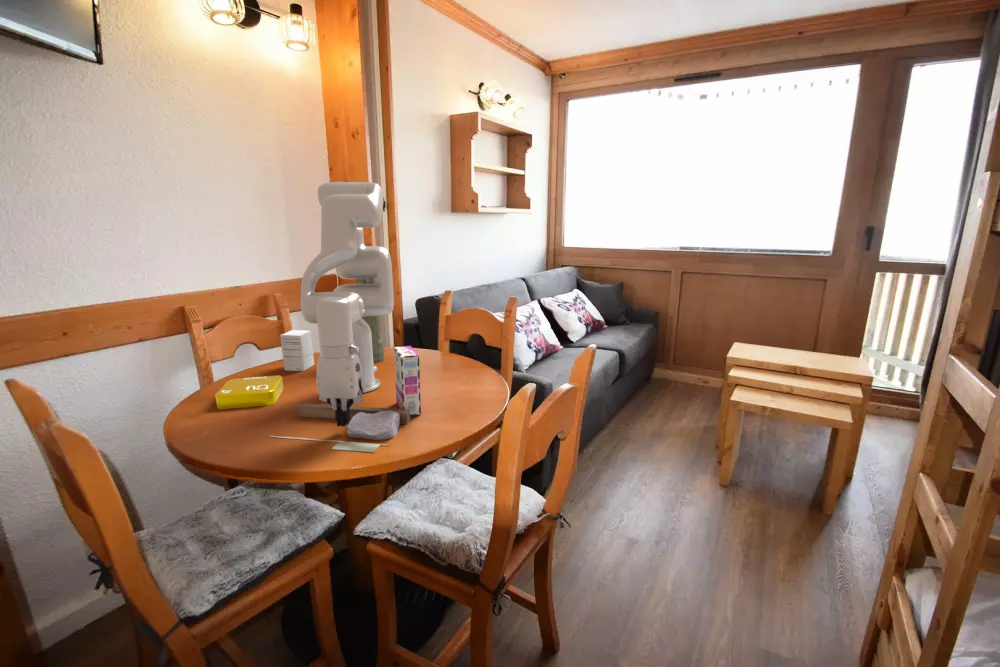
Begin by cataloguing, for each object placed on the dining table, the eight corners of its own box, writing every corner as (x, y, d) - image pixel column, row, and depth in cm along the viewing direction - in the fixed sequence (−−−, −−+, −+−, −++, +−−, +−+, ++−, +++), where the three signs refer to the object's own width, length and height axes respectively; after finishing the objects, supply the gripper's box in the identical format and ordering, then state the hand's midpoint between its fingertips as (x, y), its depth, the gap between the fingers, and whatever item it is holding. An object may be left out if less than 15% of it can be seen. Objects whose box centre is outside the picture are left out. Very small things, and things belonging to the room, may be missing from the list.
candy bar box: (422, 415, 126) (419, 355, 122) (403, 417, 124) (400, 357, 120) (413, 400, 136) (410, 344, 132) (395, 402, 134) (392, 346, 130)
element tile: (284, 387, 147) (283, 373, 146) (274, 406, 133) (272, 389, 132) (231, 392, 144) (229, 377, 143) (215, 411, 130) (212, 394, 128)
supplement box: (295, 364, 170) (291, 329, 167) (315, 365, 169) (311, 330, 166) (283, 370, 162) (279, 334, 159) (303, 371, 161) (300, 335, 158)
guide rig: (301, 413, 127) (300, 402, 126) (409, 420, 122) (409, 409, 121) (259, 443, 110) (257, 431, 109) (382, 453, 105) (381, 441, 104)
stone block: (396, 447, 112) (401, 421, 122) (393, 430, 110) (399, 406, 119) (345, 449, 112) (354, 424, 121) (341, 433, 110) (351, 408, 119)
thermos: (381, 354, 182) (375, 261, 173) (387, 362, 171) (381, 264, 163) (357, 356, 178) (350, 262, 170) (362, 365, 168) (355, 265, 159)
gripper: (374, 347, 113) (379, 419, 117) (316, 345, 115) (322, 416, 120) (360, 356, 106) (365, 432, 110) (298, 353, 108) (306, 428, 112)
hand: (343, 424), depth 115 cm, fingers closed
